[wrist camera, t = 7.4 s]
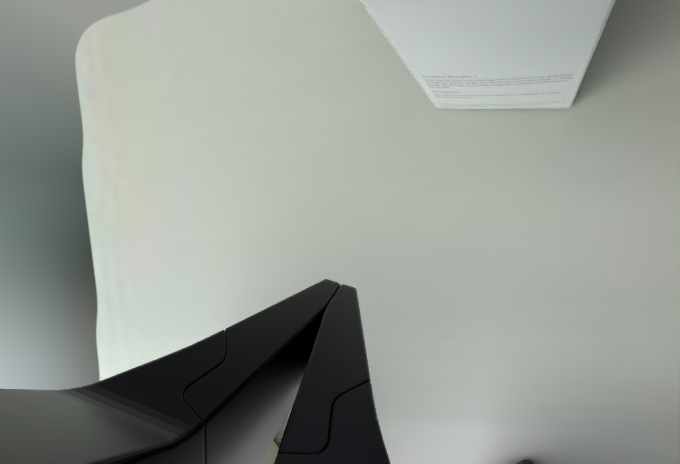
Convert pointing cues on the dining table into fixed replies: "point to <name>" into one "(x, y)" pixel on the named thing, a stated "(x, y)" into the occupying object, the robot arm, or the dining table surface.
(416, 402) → the dining table surface
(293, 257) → the dining table surface
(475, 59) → the supplement box
